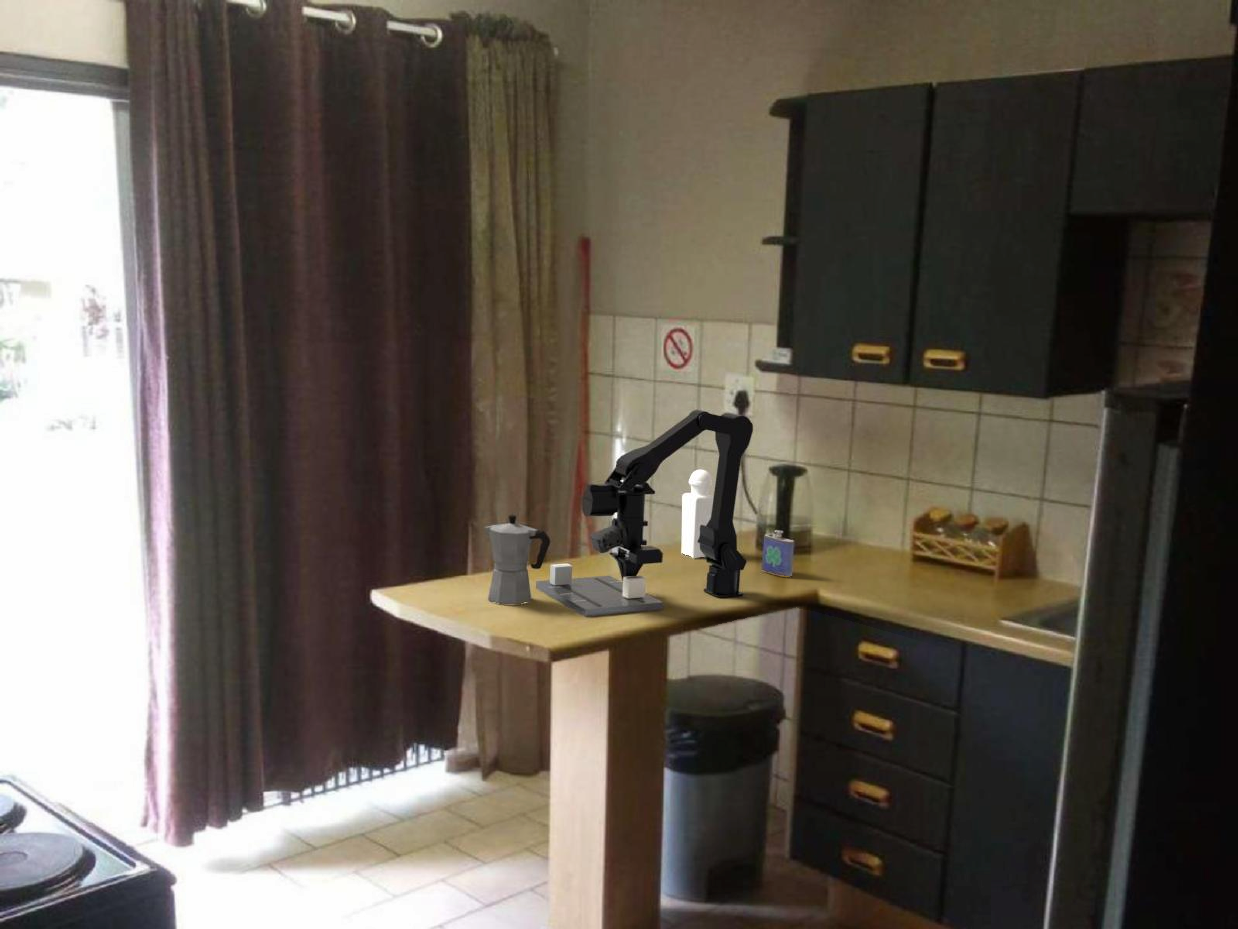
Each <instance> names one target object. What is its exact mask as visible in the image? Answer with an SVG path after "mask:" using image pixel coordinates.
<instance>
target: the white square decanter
mask: <svg viewBox="0 0 1238 929" xmlns="http://www.w3.org/2000/svg"><path fill="white" fill-rule="evenodd" d="M688 484H689V485H690V492H685V493H683V494H682V496H681V501H682V502H681V512H682V513H681V552H680V554H682V553H683V554H685V555H684V556H686V555H689V556H691V557H692V558H691V557H690V558H691V559H698V558H697V557H705V555H704V554H703V553H702V551H701V550H700V543H698V542H697V541H698V539H699V536H700V525H705V526H706V525H707V523H708V522H709V520H710V518H711V514H712V506H713V498H714V494H710V493H709V492H710V489H711V487H712V485H713V480H712V475H711V474H710V473H709V471H707V470H705V469H696V470H695V471H693V472H692V474H690V478H689V480H688ZM683 554H682V555H683Z"/></svg>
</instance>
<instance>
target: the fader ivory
mask: <svg viewBox="0 0 1238 929" xmlns="http://www.w3.org/2000/svg"><path fill="white" fill-rule="evenodd" d="M646 579H647V578H646V577H644V576H642V575H637V576H628V577H623V581H622V582H623V593H622V596H624V597H626V598H639V597H645V593H646V585H647V584H646V583H647V582H646V581H647V580H646Z"/></svg>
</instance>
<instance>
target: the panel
mask: <svg viewBox="0 0 1238 929" xmlns="http://www.w3.org/2000/svg"><path fill="white" fill-rule="evenodd" d="M535 589H536V590H538V589H539V590H538V591H540V592H542V593H543V592H544V594H545V595H547V596H548V597H550V596H551V597H550V598H552V599H554V600H555V599H556V601H557V602H559V603H561V604H562V605H564V606H566V607H567V606H568V608H569V609H571V610H573V611H575V612H576V613H578V614H579V615H581V616H583V617H587V616H588V617H596V616H597V617H598V616H606V615H608V616H609V615H617V614H618V613H620V614H628V613H639V612H648V611H658V610H661V611H662V610H663V609H664V601H662V600H661V599H657V598H655V597H654V596H652V595H650V594H647V593H646V592H645V597H639V598H626V597H624V596H622V593H623V581H622V580H619V579H617V578H615V577H613V576H611V575H599V576H589V577H588V576H587V577H574V578H573V577H572V584H567V585H553V584H551V583H550V579H547V580H537V581H535ZM588 617H587V618H588Z"/></svg>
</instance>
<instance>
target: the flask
mask: <svg viewBox="0 0 1238 929" xmlns="http://www.w3.org/2000/svg"><path fill="white" fill-rule="evenodd" d="M774 532H775V533H768V534H767V533H766V534H764V535H763V537H764V538H763V549H762V551H763V552H762V558H761V560H762V562H761V570H764V571H766V572H771V573H774V574H778V575H784V576H789V577H790V576H792V577H793V563H794V549H795V540H793V539H788V538H785V537H782V536H783V533H784V531H783V530H778V529H776V530H774Z"/></svg>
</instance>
